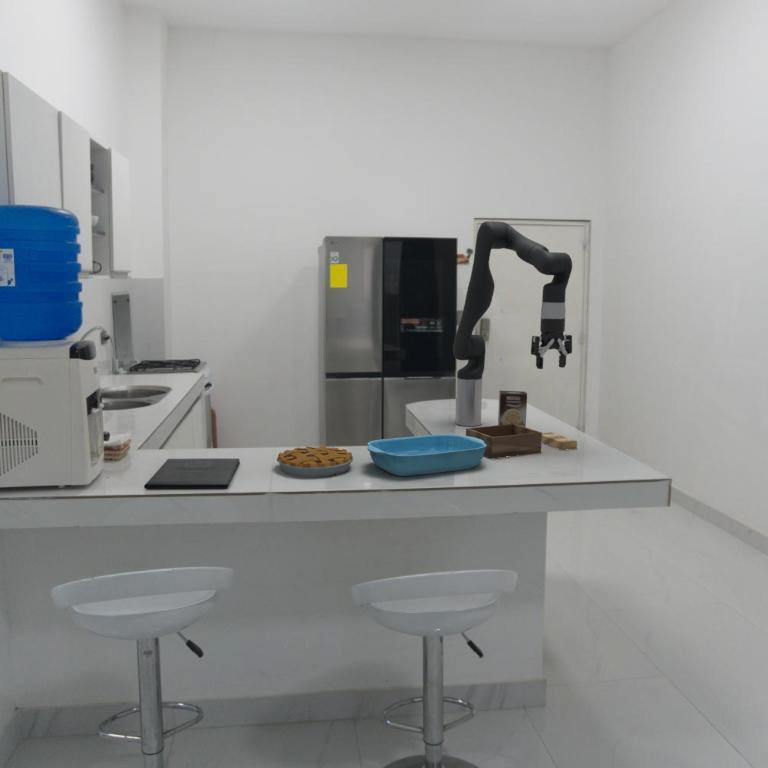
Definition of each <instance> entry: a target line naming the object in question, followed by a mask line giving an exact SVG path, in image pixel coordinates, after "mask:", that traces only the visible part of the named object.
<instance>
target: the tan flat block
mask: <svg viewBox="0 0 768 768" xmlns="http://www.w3.org/2000/svg"><path fill="white" fill-rule="evenodd" d="M543 443H544V445H546V444H548V445H547V446H549V445H551V446H554V447H556V448H555V449H557V448H559V449H558V450H560V449H562V450H561V451H567V450H566V449H572V450H578V440H575V439H573V438H569V437H566V436H563V435H560V434H557V433H554V432H543V433H542V443H541V444H543ZM551 446H550V447H551ZM554 447H553V448H554Z"/></svg>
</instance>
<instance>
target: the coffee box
mask: <svg viewBox="0 0 768 768" xmlns="http://www.w3.org/2000/svg"><path fill="white" fill-rule="evenodd" d="M498 393H499V396H498V398H499V399H498V412H497V414H498V417H497V418H498V419H497V425H505V424H516V425H519V426H523V427H526V428H527V424H526V423H527V409H528V408H527V406H528V393H527V392H526V391H521V390H520V391H518V390H517V391H516V390H499V391H498Z"/></svg>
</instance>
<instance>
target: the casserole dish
mask: <svg viewBox="0 0 768 768" xmlns="http://www.w3.org/2000/svg"><path fill="white" fill-rule="evenodd" d="M486 446H487V445H486V444H485V443H484V441H483V440H481V439H478V438H474V437H469V436H466V435H461V434H456V433H440V434H439V433H437V434H427V435H417V436H405V437H404V436H403V437H402V436H401V437H395V438H383V439H375V440H371V441H368V442H367V447H366V448H367V451H368V452H369V455H370V458H371V461H372V462H373V463H374V464H375V465H376V466H378V468H380V469H381V470H384V471H385V472H388V473H390V474H392V475H395V476H399V477H400V476H401V477H408V476H409V477H410V476H421V475H428V474H429V475H430V474H439V473H447V472H446V471H448V472H455V470H456V471H462V470H461V469H463V470H468V469H467V468H469V469H472V467H473V468H475V467H476V466H478V465H479V464H480V463H481V461H482V460H483V457H484V452H485V449H486Z"/></svg>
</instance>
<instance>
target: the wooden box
mask: <svg viewBox="0 0 768 768" xmlns="http://www.w3.org/2000/svg"><path fill="white" fill-rule="evenodd" d="M465 436H469V437H474V438H478V439H481V440H483V441H484V443H485V444H486V445H487V446H486V449H485V452H484V455H486V456H488V457H487V458H489V457H490V458H489V459H491V458H495V459H499V458H498V457H503V458H507V457H506V456H511V457H518V456H517V455H519V456H525V455H526V454H527V455H533V454H534V453H535V454H542V443H541V442H542V431H538V430H536V429H533V428H528V427H527V426H526V427H523V426H519V425H516V424H505V425H498V424H497V425H488V426H487V425H486V426H475V427H468V428H465ZM535 454H534V455H535ZM484 455H483V456H484ZM486 456H485V457H486Z"/></svg>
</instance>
